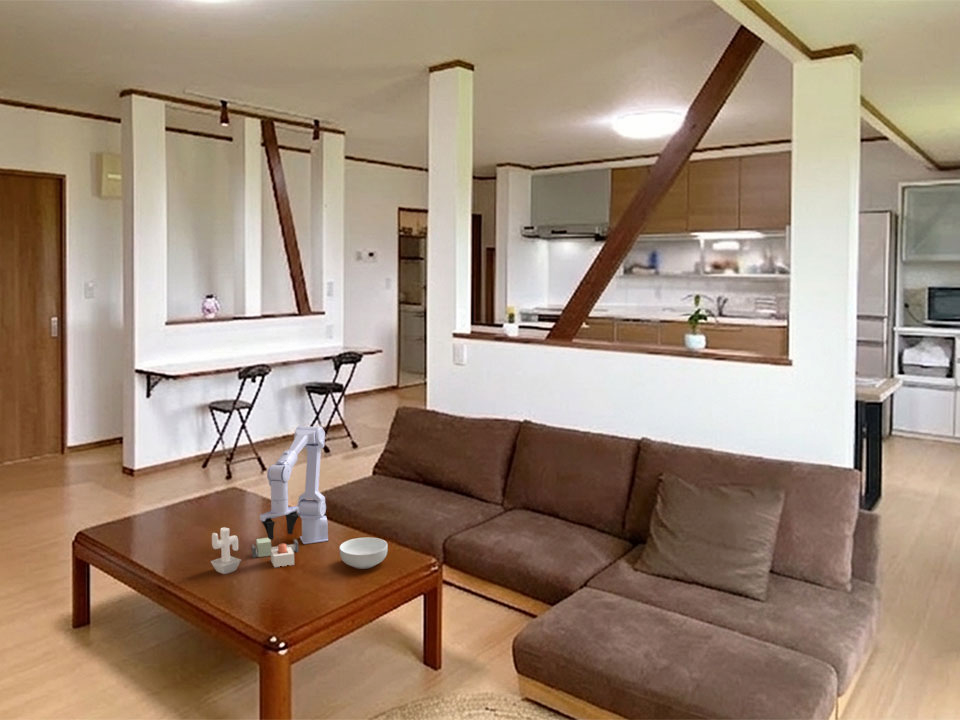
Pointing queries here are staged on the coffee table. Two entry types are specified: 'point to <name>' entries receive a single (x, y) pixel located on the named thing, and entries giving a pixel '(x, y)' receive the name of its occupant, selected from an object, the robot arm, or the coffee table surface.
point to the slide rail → (293, 546)
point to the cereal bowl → (363, 552)
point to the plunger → (282, 548)
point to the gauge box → (282, 557)
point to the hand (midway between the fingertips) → (280, 536)
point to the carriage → (263, 547)
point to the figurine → (225, 551)
